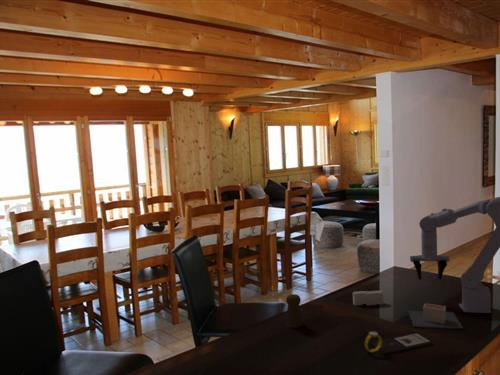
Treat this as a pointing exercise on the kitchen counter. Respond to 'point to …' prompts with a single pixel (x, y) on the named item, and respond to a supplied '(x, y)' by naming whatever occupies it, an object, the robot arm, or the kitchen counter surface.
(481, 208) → the robot arm
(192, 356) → the kitchen counter surface
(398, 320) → the kitchen counter surface
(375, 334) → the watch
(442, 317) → the card box
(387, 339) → the chocolate bar
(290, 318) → the cork
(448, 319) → the rubber mat
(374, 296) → the napkin holder
